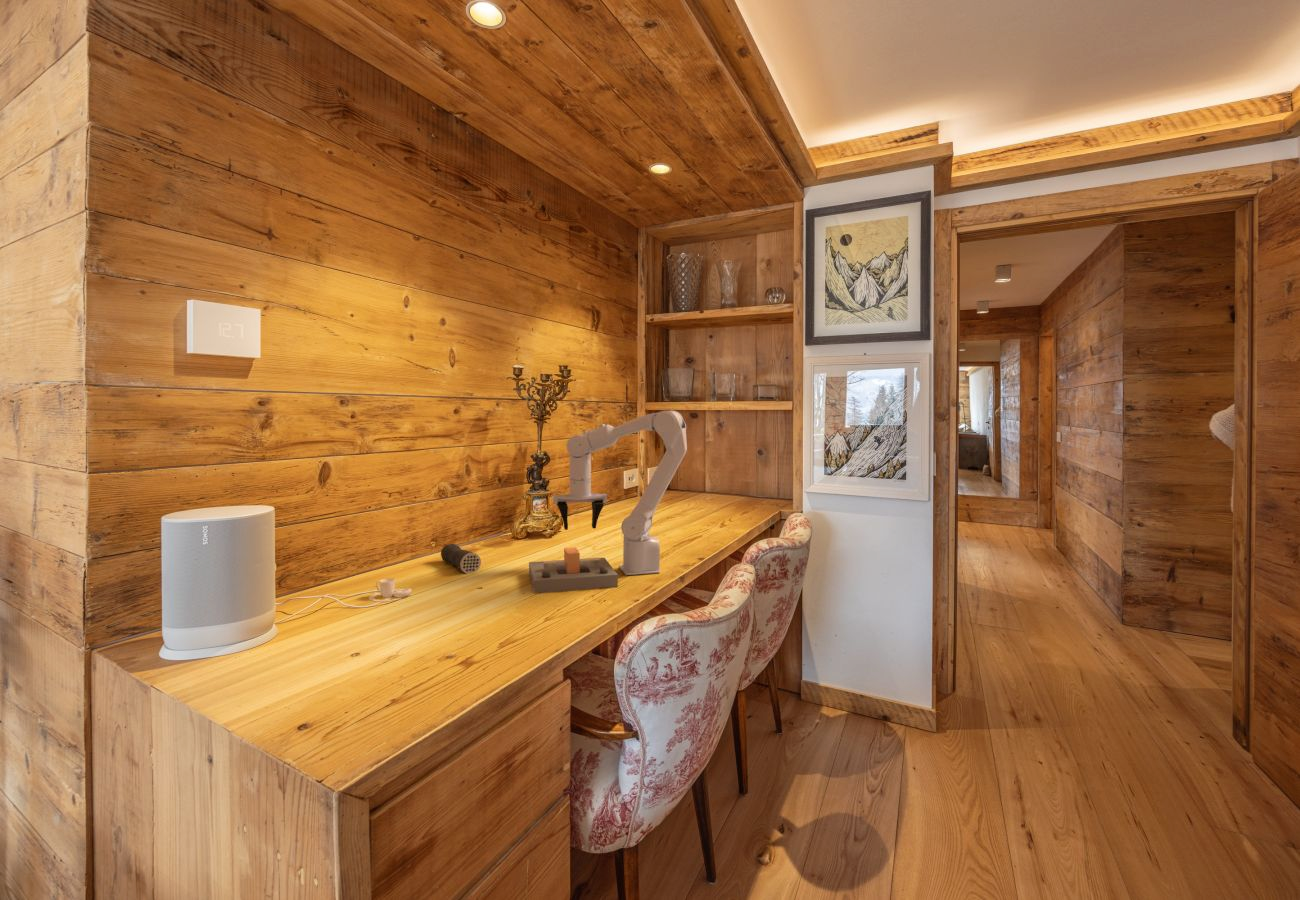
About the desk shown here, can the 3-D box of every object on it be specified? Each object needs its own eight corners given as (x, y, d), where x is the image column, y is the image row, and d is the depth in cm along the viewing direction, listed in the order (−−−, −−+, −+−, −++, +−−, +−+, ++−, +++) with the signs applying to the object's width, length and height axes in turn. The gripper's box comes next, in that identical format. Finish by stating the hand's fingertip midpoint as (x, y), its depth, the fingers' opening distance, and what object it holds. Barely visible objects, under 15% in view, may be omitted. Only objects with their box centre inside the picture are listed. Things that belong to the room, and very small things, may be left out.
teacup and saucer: (417, 595, 131) (417, 578, 131) (388, 606, 124) (388, 588, 124) (390, 590, 135) (390, 573, 135) (360, 600, 128) (360, 582, 127)
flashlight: (438, 562, 158) (438, 543, 157) (458, 559, 161) (457, 540, 161) (461, 575, 146) (460, 555, 146) (481, 571, 150) (480, 551, 149)
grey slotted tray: (604, 568, 154) (604, 550, 153) (617, 586, 138) (617, 566, 138) (529, 573, 148) (529, 554, 148) (534, 593, 133) (534, 572, 132)
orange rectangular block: (575, 566, 147) (575, 547, 146) (579, 572, 141) (579, 553, 141) (564, 566, 146) (564, 547, 146) (567, 573, 140) (567, 553, 140)
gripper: (603, 476, 160) (603, 524, 161) (551, 477, 156) (551, 526, 157) (608, 479, 153) (608, 529, 154) (554, 481, 149) (554, 532, 150)
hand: (580, 528), depth 155 cm, fingers open, 7 cm apart
